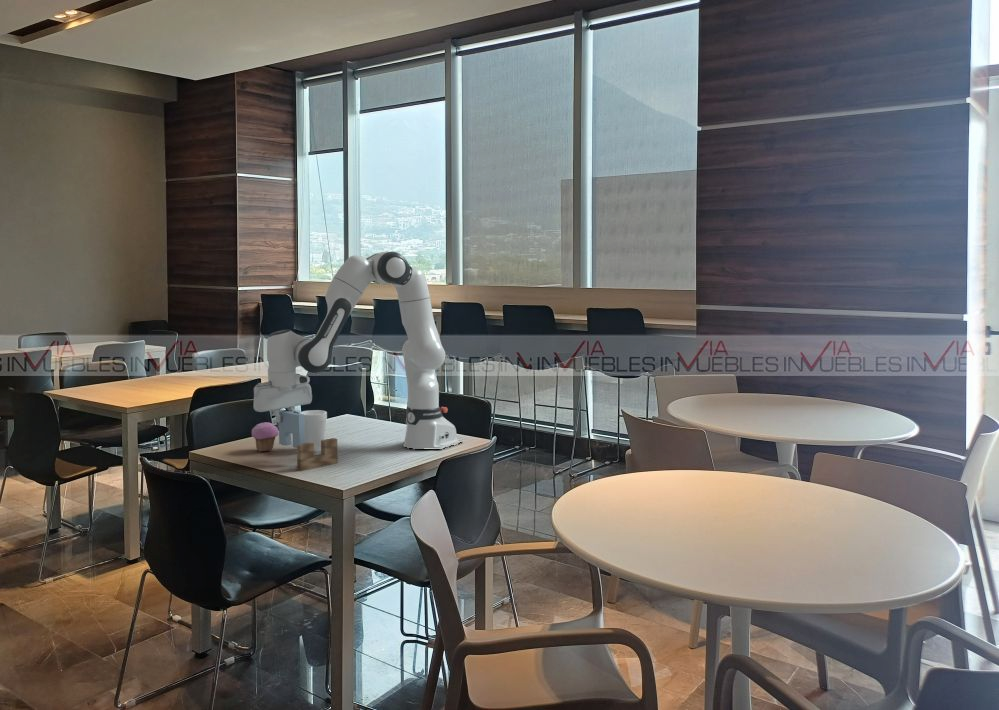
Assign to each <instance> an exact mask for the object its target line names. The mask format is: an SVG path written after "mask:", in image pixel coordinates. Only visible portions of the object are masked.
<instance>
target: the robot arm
mask: <svg viewBox="0 0 999 710" xmlns="http://www.w3.org/2000/svg"><path fill="white" fill-rule="evenodd" d="M427 282H428V281H427V279H426V277H425V274H424V272H423V271H422V270H421V269H420V268H417V267H412V266H411V264H410V263H408V261H407V259H406V258H405V256H403V254H401V253H398V252H396V251H381V252H378V253H374V254H372V255H370V256H368V257H367V258H365V257H363V256H360V255H352V256H349V257H348V258H347V259H346V260H345V261H344V263H343V264H342V265H341V266H340V267H339V268H338V270H337V272H335V275H334V276H333V278H332V280H331V281H330V283H329V284H328V287H327V289H326V293H325V301H326V304H327V313H326V316H325V318H324V320H323V322H322V323H321V324H320V327H319V329H318V331H317V333H316V334H315V336H314V337H313V338H312V339H311V338H307V337H305V336H301V335H299V334H297V333H295V332H293V331H292V330H291V329H281V330H277V331H276V330H275V331H273V332H272V333H269V335H268V337H267V341H266V360H267V362H268V369H267V381H265V382H258V383H257V384H256V385H255V386H254V387H253V410H254V411H255V412H259V413H265V412H269V411H270V412H271V411H272V414H273V415H274V417H275V420H276V421H275V422H276V423H277V424H278V423H280V422H283V417H281V416H280V415H279V413H278V412H280V411H281V409H287V411H290V412H294V413H295V410H296V409H295V408H296V407H299V406H304V405H305V406H306V405H310V404H311V403H312V401H313V394H312V393H313V392H312V387H311V385H310V381H311V380H310V379H311V378H310V377H309V376H306V375H303V374H300V373H297V372H296V371H297V369H296V368H298V367H301V368H303V369H304V370H305V371H307V372H308V373H312V374H317V373H321V372H323V371H325V370H326V369H327V368H328V367H329V365H330V364H331V361H332V355H333V351H334V350H333V349H334V346H335V343H336V341H337V340H338V338H339V336H340V334H341V332H342V331H343V330H342V329H344V325H345V324H346V323H347V320H348V318H349V316H350V315H351V313H352V311H353V310H354V308H355V307H356V305H357V304H358V303H359V301H360V300H361V298H362V296H363V294H364V292H365V291H366V289H367V287H368V286H369V285H370V284H371V283H374V284H381V285H391V284H392V285H393V286H394V289H395V291H396V292H397V299H398V305H399V312H400V317H401V324H402V327H404V330H405V332H406V337H407V340H406V341H405V342H404V343H403V345H402V348H401V353H402V356H403V362H404V370H405V377H406V383H407V406H406V421H407V423H406V430H405V437H404V441H403V447H404V448H405V447H407V448H406V449H409V448H414V449H413V450H415V449H424V448H442V447H445V446H447V445H450V444H453V443H456V442H459V441H458V440H459V439H457V437H458V436H457V429H456V426H455V425H454V424H453V423H452V422H450V421H449V420H447V419H446V418H445V417H444V415H443V413H445V414H446V413H447V412H448V410H449V409H448V407H446V406H445V407H444V406H441V407H440V406H439V405H440V404H439V403H440V402H439V401H440V399H439V398H440V391H439V390H440V389H439V382H438V379H437V375H436V370H438V369H439V368H441V366H443V365H444V363H445V361H446V351H445V349H444V347H443V344H442V341H441V337H440V335H439V331H438V329H437V326H436V325H437V324H436V323H435V319H434V312H433V308H432V300H431V295H430V291H429V287H428V283H427Z"/></svg>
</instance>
